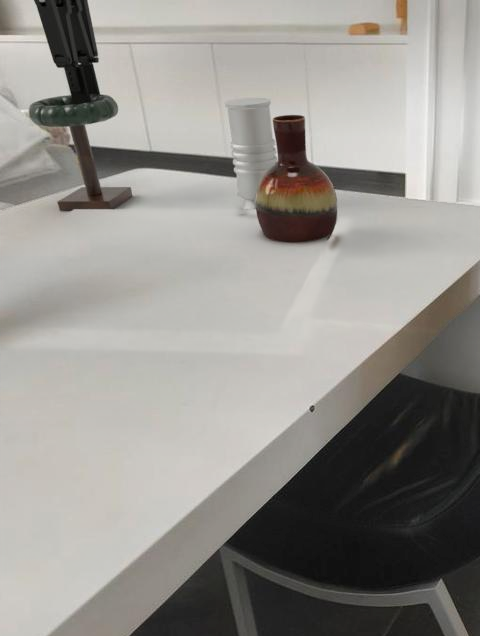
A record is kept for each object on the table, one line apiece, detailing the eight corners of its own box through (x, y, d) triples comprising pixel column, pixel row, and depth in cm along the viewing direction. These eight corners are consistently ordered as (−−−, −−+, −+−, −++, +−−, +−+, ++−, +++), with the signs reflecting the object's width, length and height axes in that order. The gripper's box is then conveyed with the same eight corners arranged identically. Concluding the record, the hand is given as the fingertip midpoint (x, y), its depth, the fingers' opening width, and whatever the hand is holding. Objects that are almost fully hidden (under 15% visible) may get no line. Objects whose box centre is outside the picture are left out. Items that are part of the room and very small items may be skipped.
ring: (16, 129, 104) (9, 108, 102) (57, 112, 114) (52, 93, 112) (97, 127, 102) (92, 106, 100) (132, 111, 112) (128, 91, 111)
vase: (266, 229, 100) (252, 111, 91) (341, 227, 100) (335, 108, 91) (254, 255, 92) (237, 127, 82) (336, 253, 91) (328, 124, 82)
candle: (287, 201, 112) (277, 97, 103) (273, 213, 107) (261, 105, 98) (248, 199, 114) (235, 97, 105) (232, 211, 108) (216, 105, 99)
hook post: (59, 210, 113) (32, 119, 104) (84, 196, 120) (60, 109, 112) (111, 210, 112) (88, 118, 103) (132, 195, 119) (113, 108, 110)
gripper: (40, -76, 91) (89, 120, 105) (93, -72, 104) (131, 103, 118) (-12, -73, 92) (44, 121, 106) (47, -70, 105) (90, 104, 119)
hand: (90, 111), depth 112 cm, fingers closed on ring, 3 cm apart
